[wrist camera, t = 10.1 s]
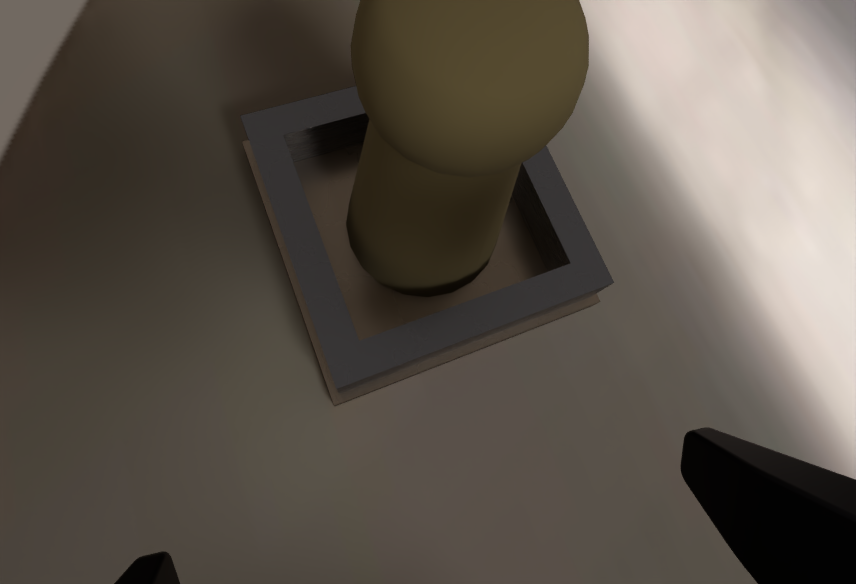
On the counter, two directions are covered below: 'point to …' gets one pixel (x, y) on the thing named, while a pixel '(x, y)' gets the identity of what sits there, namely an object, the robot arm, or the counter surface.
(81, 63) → the counter surface
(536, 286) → the socket block
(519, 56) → the cork
